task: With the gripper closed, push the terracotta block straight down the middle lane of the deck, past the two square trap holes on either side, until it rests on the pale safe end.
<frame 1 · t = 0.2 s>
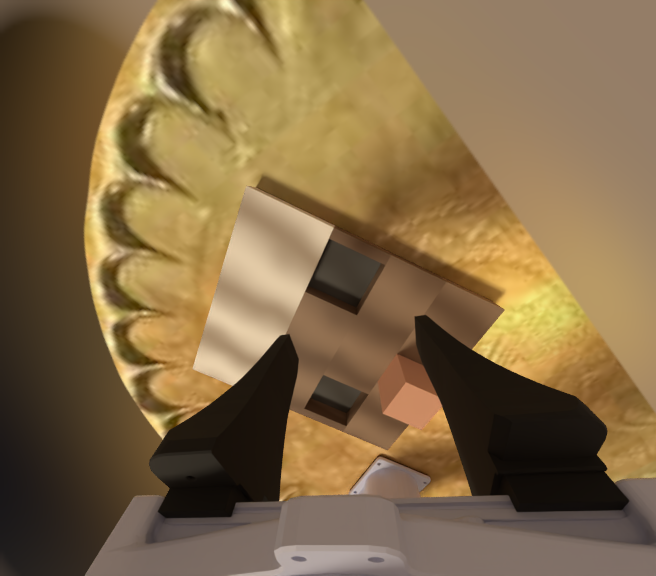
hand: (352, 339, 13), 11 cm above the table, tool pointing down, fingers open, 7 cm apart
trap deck: (331, 332, 25), on the table
block: (403, 375, 24), point 2 cm above the table, touching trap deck
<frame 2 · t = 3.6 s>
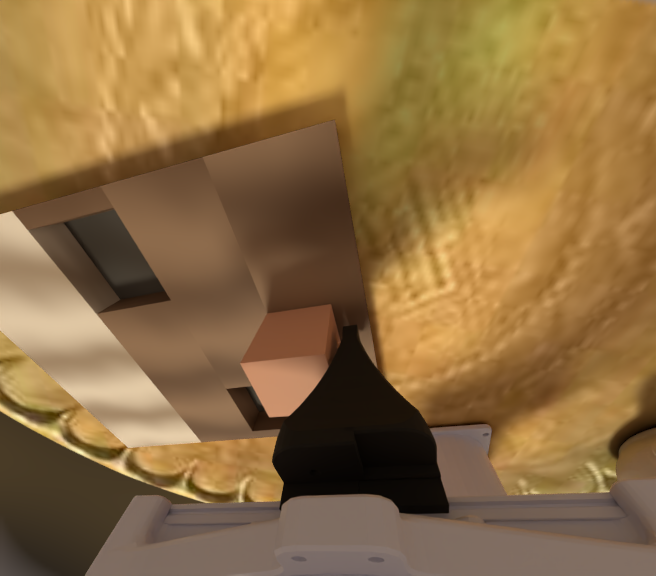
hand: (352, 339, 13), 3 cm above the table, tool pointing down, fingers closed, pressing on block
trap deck: (204, 332, 18), on the table
teacup: (651, 432, 21), on the table
block: (306, 334, 15), point 2 cm above the table, touching gripper, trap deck
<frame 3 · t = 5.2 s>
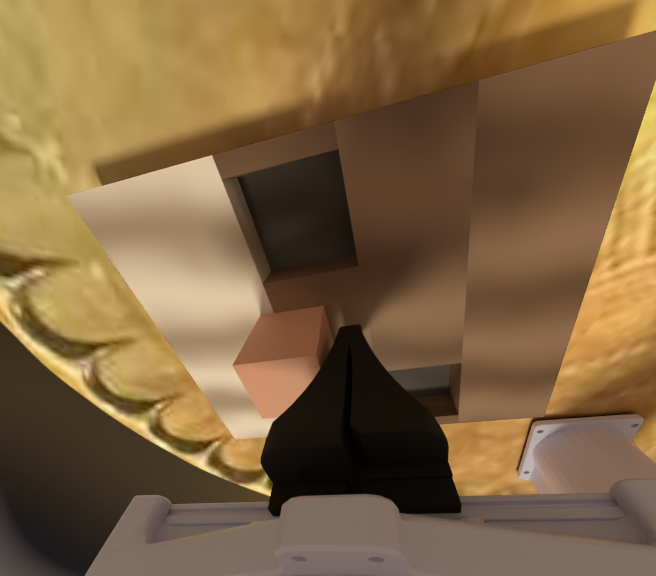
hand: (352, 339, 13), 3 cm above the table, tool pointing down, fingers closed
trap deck: (351, 310, 16), on the table
block: (300, 336, 15), point 2 cm above the table, touching gripper
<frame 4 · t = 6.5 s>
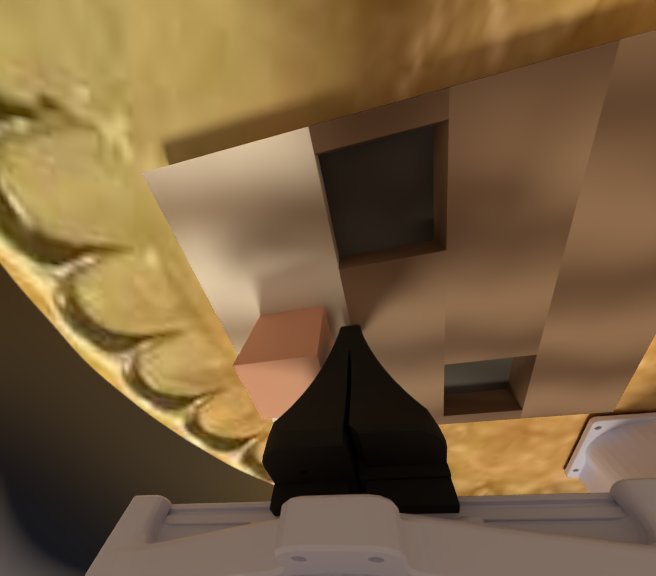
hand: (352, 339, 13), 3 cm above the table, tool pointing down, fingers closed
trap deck: (417, 300, 15), on the table
block: (300, 336, 15), point 2 cm above the table, touching gripper, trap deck
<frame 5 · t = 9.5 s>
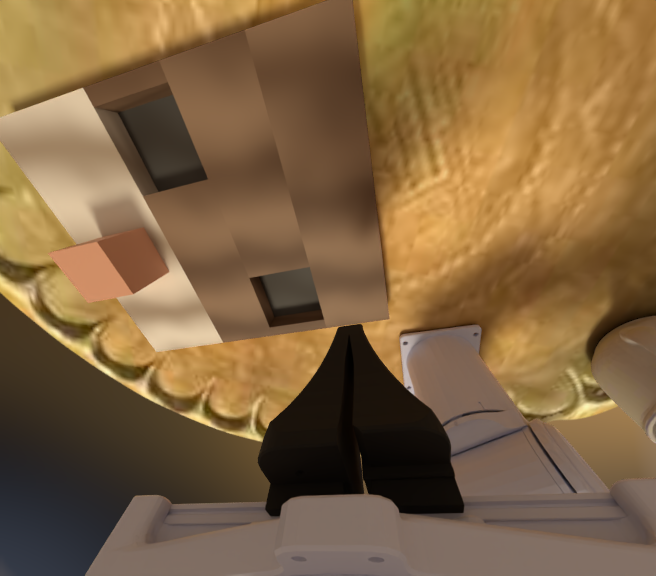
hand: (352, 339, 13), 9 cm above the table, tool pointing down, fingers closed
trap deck: (230, 229, 20), on the table
teacup: (622, 332, 23), on the table
block: (137, 254, 20), point 2 cm above the table, touching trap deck
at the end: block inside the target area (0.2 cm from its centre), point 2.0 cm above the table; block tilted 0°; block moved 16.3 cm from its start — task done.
